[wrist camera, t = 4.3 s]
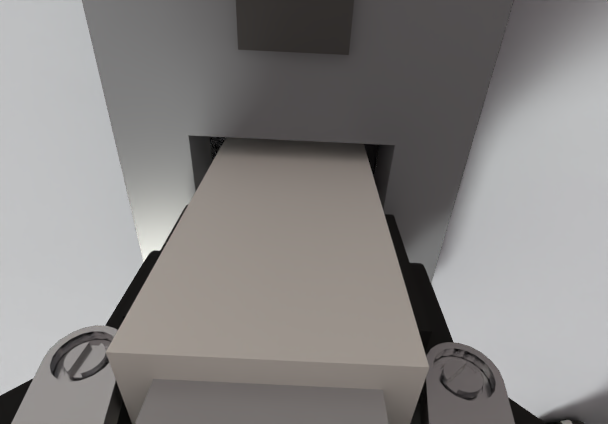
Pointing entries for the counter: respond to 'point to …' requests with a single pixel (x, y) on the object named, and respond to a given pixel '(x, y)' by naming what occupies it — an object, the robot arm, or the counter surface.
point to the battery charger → (568, 423)
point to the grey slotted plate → (297, 94)
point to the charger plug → (275, 299)
